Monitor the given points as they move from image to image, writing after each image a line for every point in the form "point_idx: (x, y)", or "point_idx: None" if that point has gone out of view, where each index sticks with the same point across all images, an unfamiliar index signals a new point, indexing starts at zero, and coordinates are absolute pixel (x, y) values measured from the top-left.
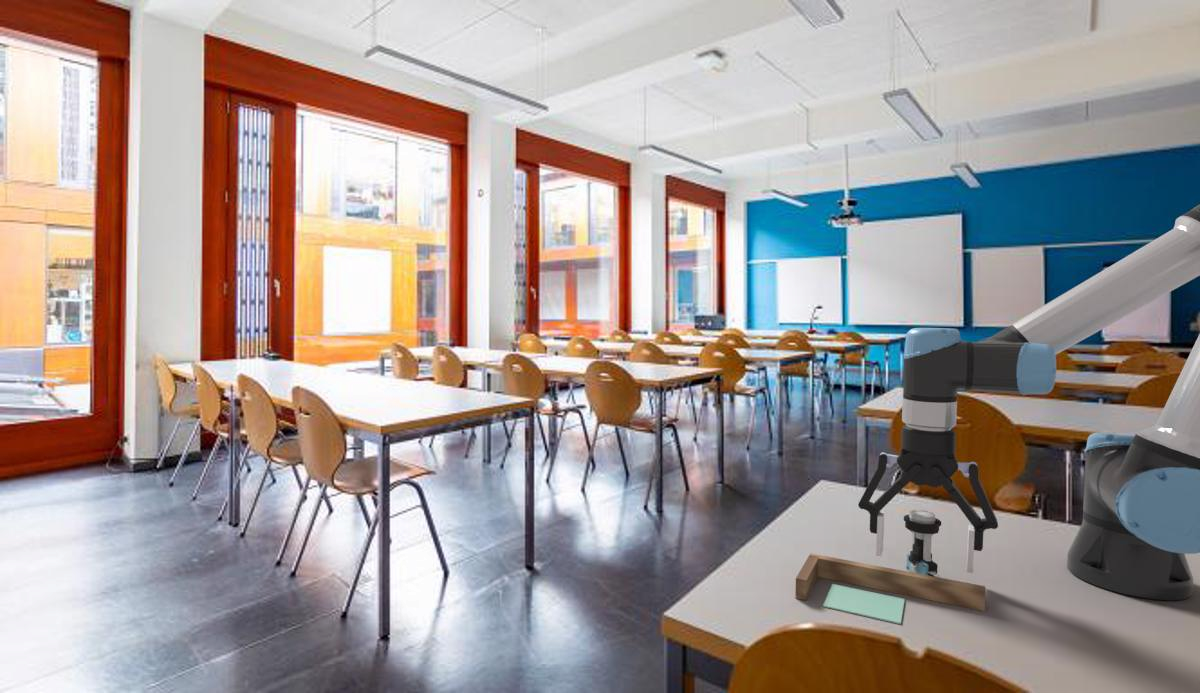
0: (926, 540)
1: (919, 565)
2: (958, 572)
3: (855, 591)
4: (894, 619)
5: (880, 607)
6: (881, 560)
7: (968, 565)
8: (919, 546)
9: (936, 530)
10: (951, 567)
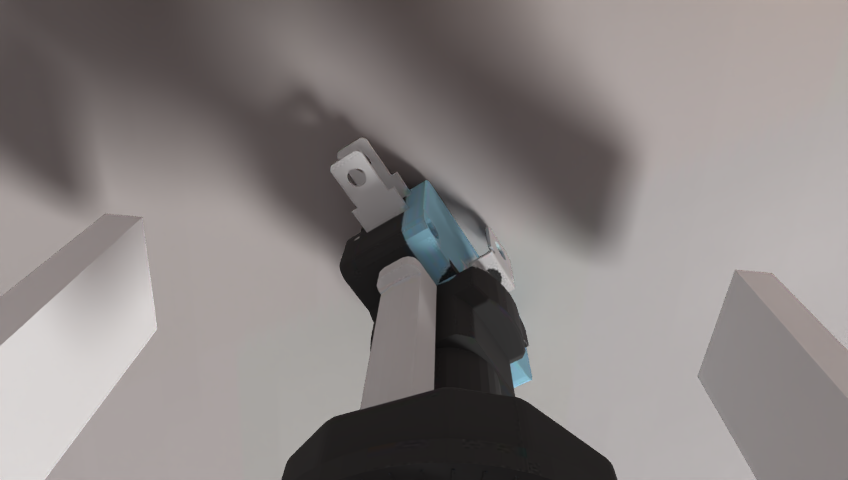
0: (409, 368)
1: (458, 261)
2: (244, 379)
3: None
4: None
5: None
6: (651, 386)
7: (109, 241)
8: (466, 356)
9: (295, 470)
10: (280, 427)
